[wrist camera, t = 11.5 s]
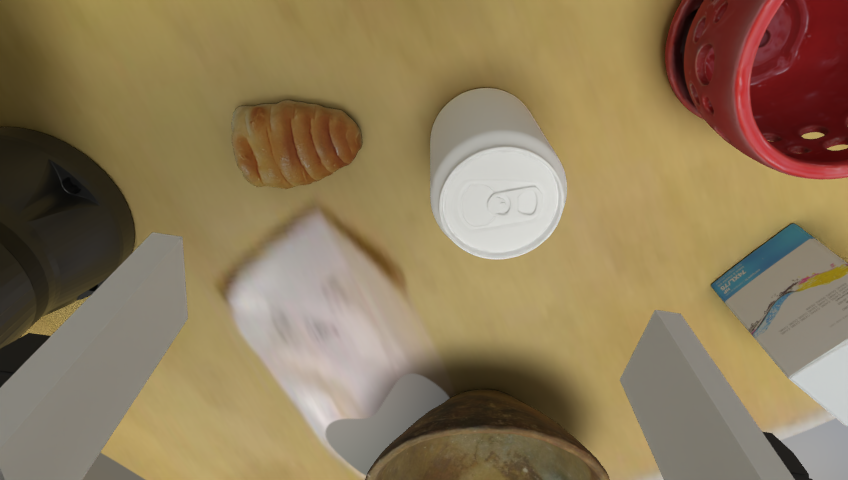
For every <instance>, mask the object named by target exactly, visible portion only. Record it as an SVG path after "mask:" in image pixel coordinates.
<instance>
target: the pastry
mask: <svg viewBox="0 0 848 480" xmlns="http://www.w3.org/2000/svg"><path fill="white" fill-rule="evenodd" d="M232 130H233V133H232V145H233V150H234V154H235V158H236V162H237V165H238V167H239V169H240V170H241V171H242V173H243V176H244V177H245V179H246V180H247V181H248V182H250V183H251V184H253V185H255V186H257V187H262V186H271V187H278V188H286V189H288V188H291V187H295V186H298V185H307V184H311V183H312V182H315V181H319V180H321V179H322V178H324V177H326V176H329V175H331V174H332V173H333V172H335V171H336V170H338V169H339V168H341V167H343V166H346V165H349V164H350V163H351V162H352V161H353V159H354V158H355V156H356V154H357V152H358V150H360V149H361V147H362V135H361V132H360V130H359V128H358V126H357V124H356V123H355V122H354V121H353V120H352V119H351V118H350V117H349V116H348V115H347V114H346V113H344V112H343V111H342V110H337V109H332V108H325V107H322V106H320V105H318V104H307V103H304V102H301V101H300V102H295V101H291V100H284V101H281V102H279V103H277V104H260V105H256V106H239V107H237V108H236V109H235V111H234V112H233V119H232Z"/></svg>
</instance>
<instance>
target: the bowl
mask: <svg viewBox="0 0 848 480" xmlns="http://www.w3.org/2000/svg"><path fill="white" fill-rule="evenodd" d="M365 480H610V479H609V476H608V474H607V472H606V470H605V469H604V468H603V466H602V465H601V464H600V462H599V461H598V460H597V458H596V457H594V456H593V455H592V453H591V452H590V451H588V450H587V449H586V448H585V447H584V446H583V445H582V444H581V443H580V442H579V441H578V440H576V439H575V438H574V437H573V436H572V435H571V434H569V433H568V432H567V431H566V430H565V429H563V428H562V427H561V426H560V425H559V424H557V423H556V422H554V421H553V420H552V419H550V418H549V417H547V416H546V415H544V414H543V413H541V412H539V411H537V410H536V409H534V408H532V407H530V406H528V405H527V404H525V403H523V402H521V401H519V400H517V399H515V398H513V397H512V396H510V395H508V394H506V393H504V392H501V391H497V390H487V389H481V390H472V391H468V392H464V393H461V394H458V395H456V396H453V397H451V398H450V399H448V400H447V401H446V402H444V403H443V404H441V405H439V406H438V407H436V408H434V409H432V410H431V411H429V412H428V413H426V414H425V415H424V416H423V417H421V418H420V419H419V420H417V421H416V422H415V423H414V424H413V425H412V426H411V427H409V428H408V429H407V430H406V431H405V432H404V433H403V434H402V435H400V436H399V437H398V438H397V439H396V440H394V442H392V443H391V444H390V445H389V446H388V447H387V448H386V449H385V450H384V451H383V452H382V453H381V455H380V456H379V457H378V458H377V460H376V461H375V462H374V464H373V465H372V467H371V468H370V470H369V471H368V473H367V476H366V479H365Z"/></svg>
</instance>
